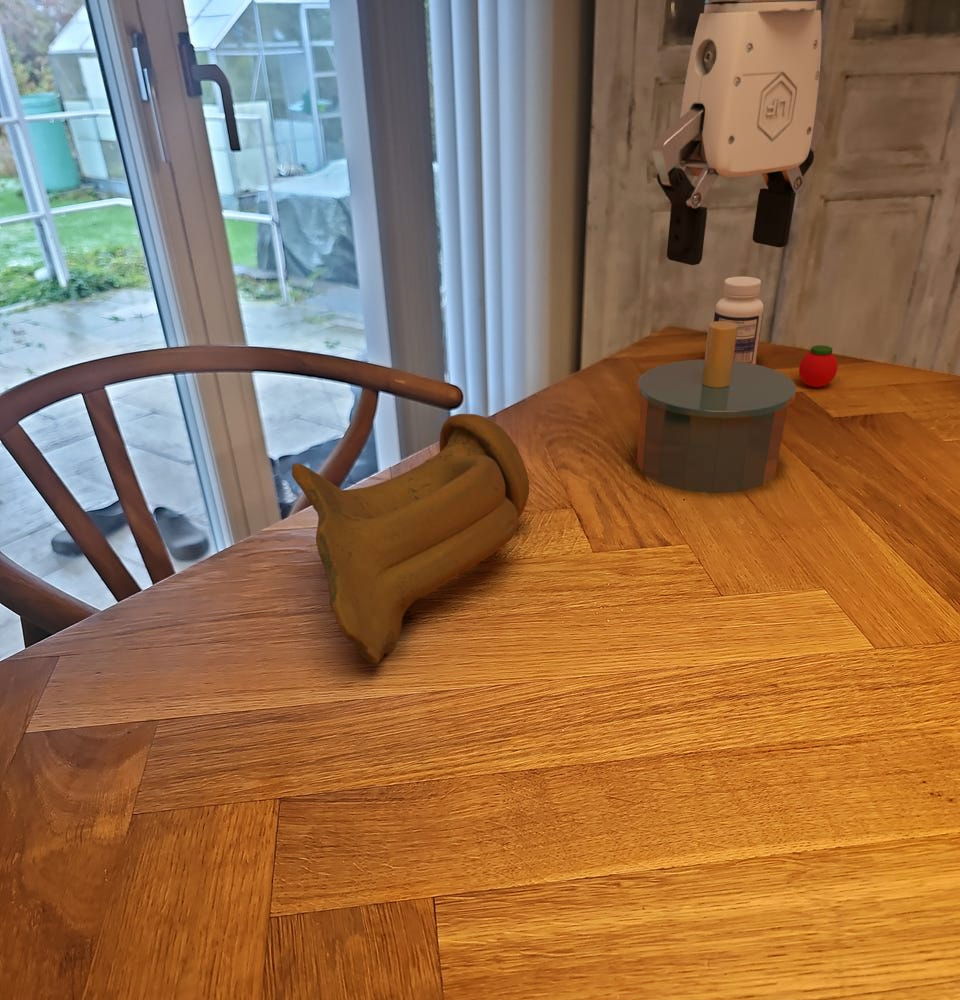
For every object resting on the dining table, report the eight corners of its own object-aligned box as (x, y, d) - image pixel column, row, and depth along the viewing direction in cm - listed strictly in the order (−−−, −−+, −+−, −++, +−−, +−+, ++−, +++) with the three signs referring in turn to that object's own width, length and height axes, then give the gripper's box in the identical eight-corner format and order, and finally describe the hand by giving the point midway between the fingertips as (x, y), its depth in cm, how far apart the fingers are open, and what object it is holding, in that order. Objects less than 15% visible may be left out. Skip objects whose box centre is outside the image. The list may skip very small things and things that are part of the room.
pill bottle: (719, 356, 107) (730, 272, 102) (762, 363, 105) (775, 277, 99) (701, 369, 104) (710, 282, 98) (744, 376, 101) (757, 288, 96)
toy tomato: (825, 379, 100) (832, 341, 97) (839, 391, 97) (847, 352, 94) (790, 381, 100) (797, 343, 97) (803, 393, 96) (810, 354, 94)
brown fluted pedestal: (189, 492, 63) (428, 373, 72) (270, 642, 69) (482, 515, 78) (282, 507, 48) (569, 353, 57) (375, 698, 54) (625, 531, 62)
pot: (750, 439, 86) (761, 363, 82) (795, 494, 76) (811, 411, 72) (625, 447, 86) (630, 371, 82) (654, 503, 76) (661, 420, 72)
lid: (764, 368, 83) (774, 300, 79) (817, 420, 72) (833, 344, 68) (623, 376, 82) (627, 307, 79) (656, 429, 71) (663, 353, 68)
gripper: (713, -15, 54) (682, 278, 64) (888, -17, 62) (836, 245, 71) (630, -10, 59) (614, 260, 69) (801, -12, 67) (764, 232, 77)
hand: (727, 252), depth 70 cm, fingers open, 9 cm apart
